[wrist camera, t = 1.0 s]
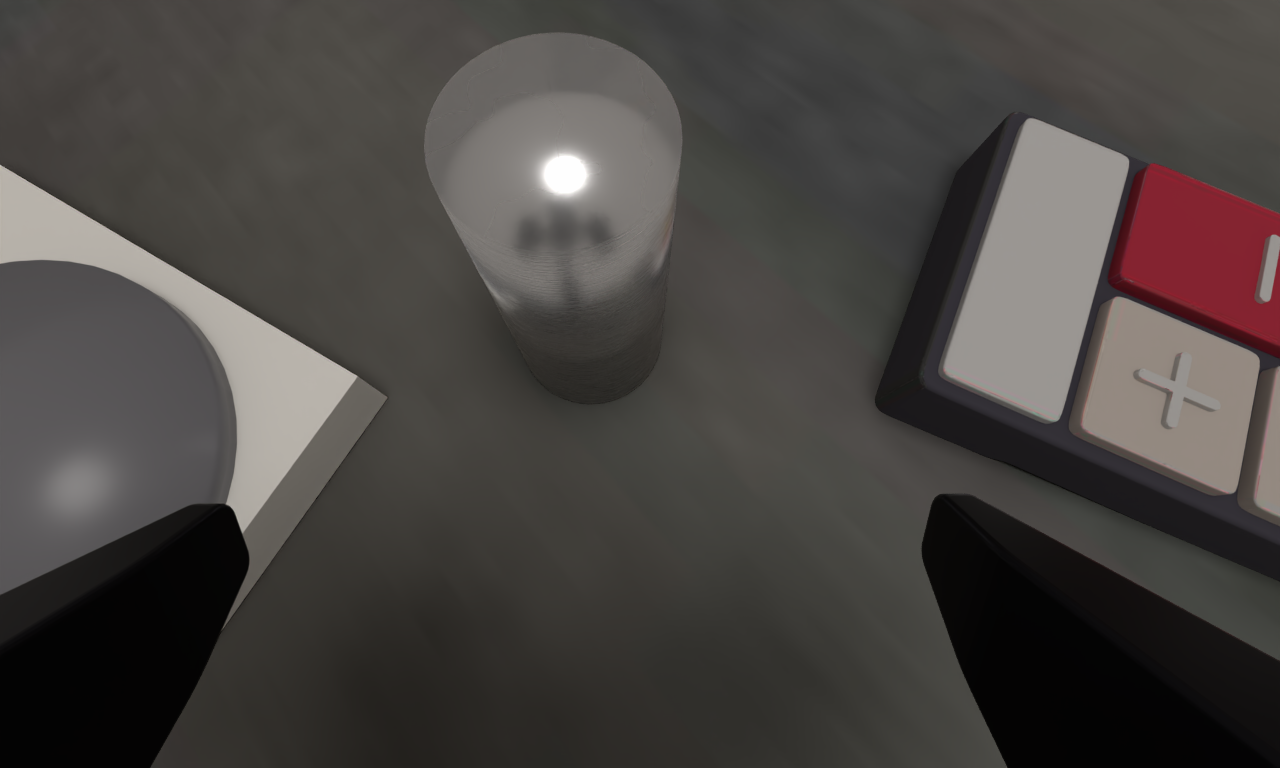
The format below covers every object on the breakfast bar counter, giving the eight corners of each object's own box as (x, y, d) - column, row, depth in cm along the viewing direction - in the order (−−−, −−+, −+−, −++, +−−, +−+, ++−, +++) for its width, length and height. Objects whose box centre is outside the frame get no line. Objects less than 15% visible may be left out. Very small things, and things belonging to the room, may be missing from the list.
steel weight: (616, 429, 22) (598, 297, 11) (495, 361, 23) (371, 176, 12) (686, 313, 23) (727, 96, 13) (569, 251, 24) (515, -3, 13)
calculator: (1443, 603, 17) (928, 376, 18) (1281, 594, 21) (868, 409, 22) (1472, 270, 20) (1026, 89, 21) (1324, 319, 24) (956, 166, 25)
